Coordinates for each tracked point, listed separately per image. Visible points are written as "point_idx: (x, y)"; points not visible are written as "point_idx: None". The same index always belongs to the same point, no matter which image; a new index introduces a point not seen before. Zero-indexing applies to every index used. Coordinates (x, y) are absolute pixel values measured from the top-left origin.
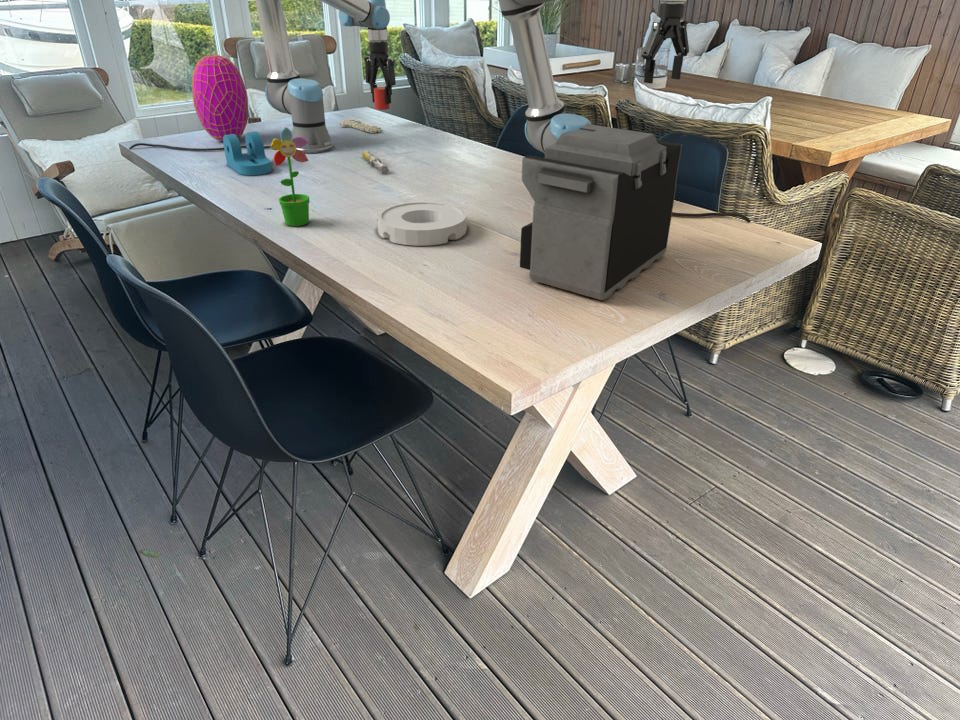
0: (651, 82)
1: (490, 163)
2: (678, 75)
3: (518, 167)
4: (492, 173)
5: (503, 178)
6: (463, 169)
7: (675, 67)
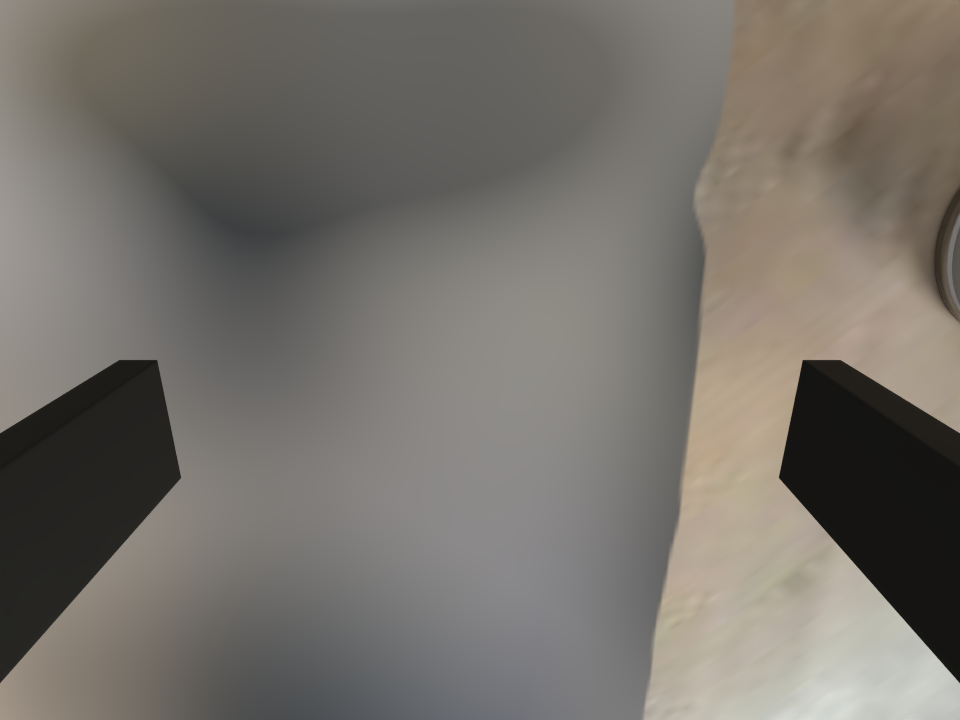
0: (838, 366)
1: (785, 714)
2: (125, 390)
3: (758, 634)
4: (893, 633)
5: None
6: (915, 713)
7: (70, 532)
